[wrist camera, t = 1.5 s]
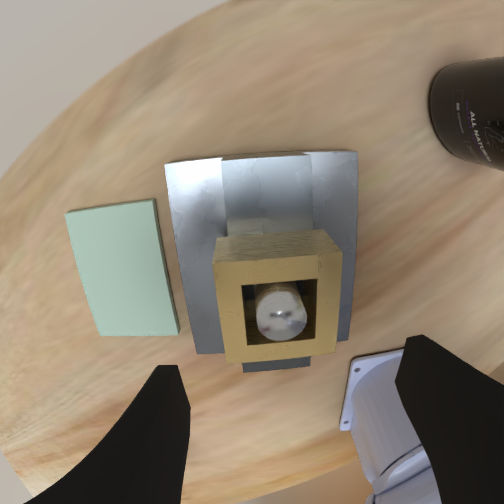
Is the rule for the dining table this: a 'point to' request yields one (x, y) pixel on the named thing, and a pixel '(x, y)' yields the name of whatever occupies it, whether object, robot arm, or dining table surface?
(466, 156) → the supplement bottle
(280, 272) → the brass collar
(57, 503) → the robot arm
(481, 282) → the dining table surface
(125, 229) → the green mat
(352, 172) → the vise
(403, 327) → the dining table surface
